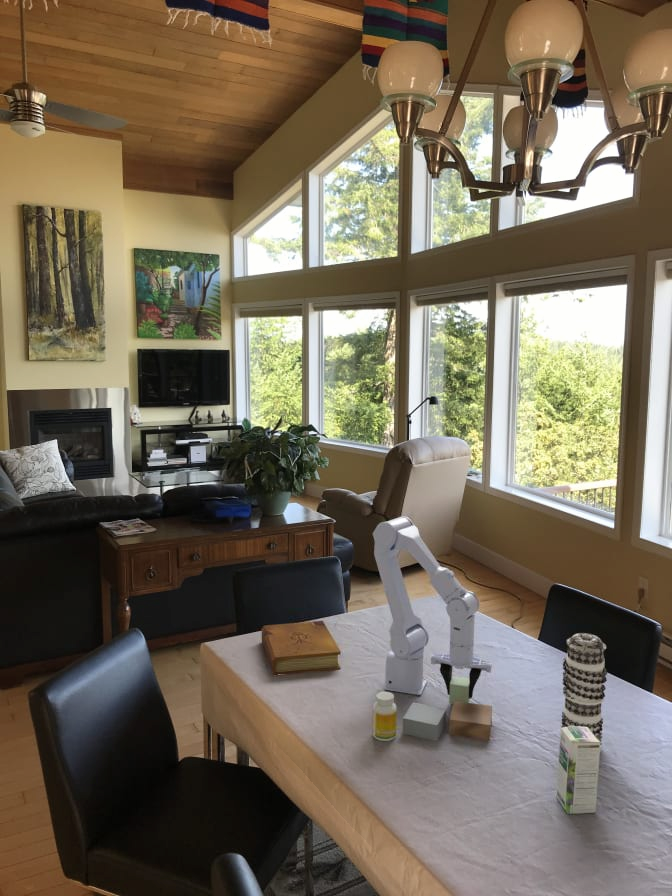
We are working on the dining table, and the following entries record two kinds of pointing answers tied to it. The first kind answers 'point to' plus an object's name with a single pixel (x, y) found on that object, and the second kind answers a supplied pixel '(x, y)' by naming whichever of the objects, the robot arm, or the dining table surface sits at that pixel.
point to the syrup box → (578, 770)
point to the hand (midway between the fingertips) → (460, 694)
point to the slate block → (424, 721)
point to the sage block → (459, 689)
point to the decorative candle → (584, 683)
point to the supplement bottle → (384, 717)
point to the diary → (300, 648)
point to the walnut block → (470, 720)
